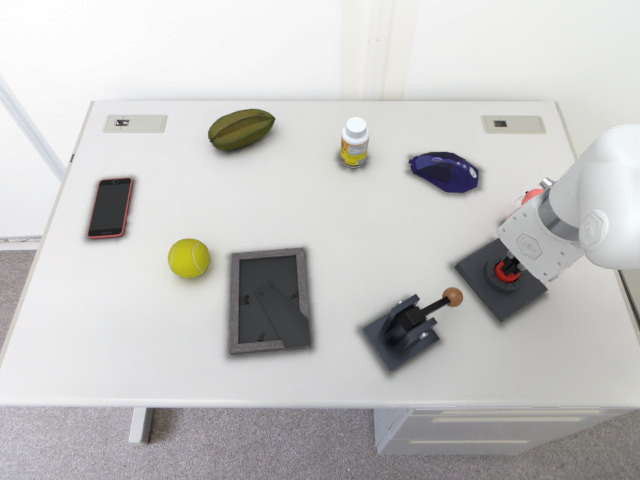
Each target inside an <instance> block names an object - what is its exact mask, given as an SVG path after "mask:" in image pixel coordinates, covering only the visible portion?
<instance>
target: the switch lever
mask: <svg viewBox="0 0 640 480" xmlns="http://www.w3.org/2000/svg"><path fill="white" fill-rule="evenodd" d="M463 302H464V294H463V292H462V291H461V290H460V289H459V288H457V287H454V286H450V287H447V288H445V289H444V290H443V292H442V295H441V298H440V299H438V300H435V301H434V302H432V303H430V304H428V305H426V306H425V307H423V308H420V307H419V305H416V307H414V308H412V309H410V310H408V311H406V312H405V313H404V314H403V315H402V316H401V317H400V318H399V319H398V322H399V323H400V324H401V326H402V327H403V329H404V330H405V332H408V331H410V330H411V329H413V328H415V327H417V326H419V325H420V324H421V323H422V322H423V321H424V320H426V321H427V320H428V319H427V317H428V316H429V315H431V314H433V313H435V312H437V311H438V310H440V309H442V308H444V307H446V306H447V307H449V308H457V307H459V306H460V305H461V304H462V303H463Z"/></svg>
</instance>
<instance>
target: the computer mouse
mask: <svg viewBox="0 0 640 480" xmlns="http://www.w3.org/2000/svg"><path fill="white" fill-rule="evenodd" d="M408 164H409V165H410V171H411V172H412V174H413V175H415V176H418V177H419V178H422V179H424V180H425V181H426V182H429V183H430V184H432V185H434V186H435V187H437V188H438V189H440V190H442V191H443V192H445V193H455V194H464V193H466V192H468V191H471V190H473V189H475V188H477V187H478V185H479V179H480V178H479V177H480V176H479V175H480V173H479V172H480V170H479V169H478V168H477V167H475V166H474V165H473V164H472V163H470V162H469V161H467V160H466V159H465V158H464V157H462V156H460V155H458V154H456V153H455V152H449V151H429V152H425V153H421V154H419V155H415V156H413V157H412V158H410V159H408Z"/></svg>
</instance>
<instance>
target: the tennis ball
mask: <svg viewBox="0 0 640 480" xmlns="http://www.w3.org/2000/svg"><path fill="white" fill-rule="evenodd" d="M209 251H210V250H209V249H208V247H207V244H205V243H204V242H202V241H201V240H198V239H196V238H192V237H191V238H190V237H189V238H182V239H179V240H177V241H176V242H174V243H173V244H172V245H171V247H170V249H169V251H168V255H167V264H168V267H169V269H170V271H171V272H172V273H173V274H175V275H176V276H178V277H180V278H185V279H193V278H197V277H200V276H201V275H203V274H204V273H205V272H206V270H207V269H208V267H209V264H210V259H211V256H210V252H209Z"/></svg>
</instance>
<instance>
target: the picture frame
mask: <svg viewBox="0 0 640 480" xmlns="http://www.w3.org/2000/svg"><path fill="white" fill-rule="evenodd" d="M230 259H231V264H230V265H231V266H230V302H229V303H230V305H229V343H228V346H229V347H228V352H229V353H228V354H229V355H232V356H233V355H244V354H254V353H266V352H276V351H277V352H278V351H287V350H288V351H289V350H298V349H299V350H300V349H308V348H309V349H310V348H312V343H311V329H310V317H309V315H310V313H309V303H308V302H309V301H308V300H309V299H308V289H307V287H308V286H307V275H306V262H305V250H304V246H303V247H292V248H279V249H269V250H256V251H243V252H233V253H231V258H230Z"/></svg>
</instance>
